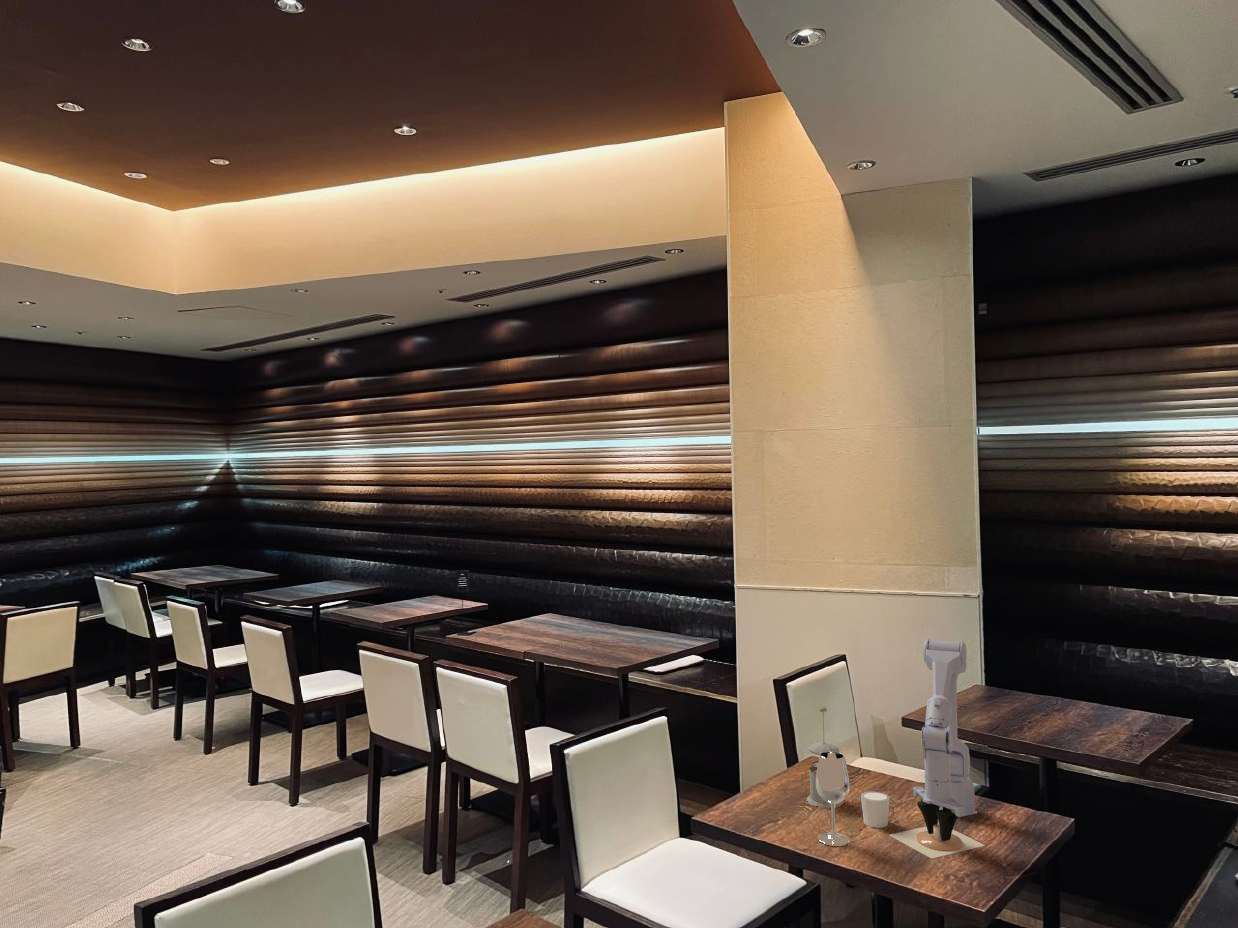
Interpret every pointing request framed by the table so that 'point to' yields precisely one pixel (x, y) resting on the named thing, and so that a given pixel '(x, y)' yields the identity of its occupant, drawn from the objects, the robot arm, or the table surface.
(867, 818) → the white tapered pot
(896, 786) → the table surface
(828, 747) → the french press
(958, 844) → the lid
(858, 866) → the table surface
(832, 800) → the wineglass
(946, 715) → the robot arm
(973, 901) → the table surface
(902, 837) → the mat
